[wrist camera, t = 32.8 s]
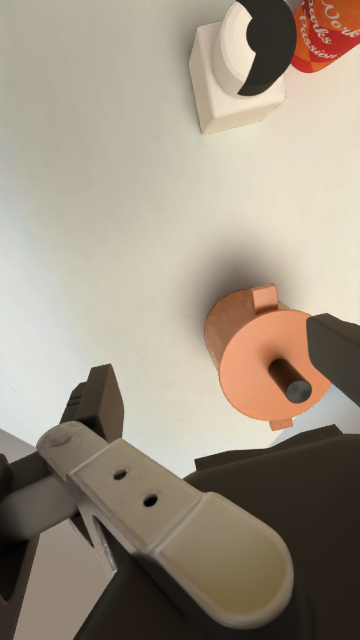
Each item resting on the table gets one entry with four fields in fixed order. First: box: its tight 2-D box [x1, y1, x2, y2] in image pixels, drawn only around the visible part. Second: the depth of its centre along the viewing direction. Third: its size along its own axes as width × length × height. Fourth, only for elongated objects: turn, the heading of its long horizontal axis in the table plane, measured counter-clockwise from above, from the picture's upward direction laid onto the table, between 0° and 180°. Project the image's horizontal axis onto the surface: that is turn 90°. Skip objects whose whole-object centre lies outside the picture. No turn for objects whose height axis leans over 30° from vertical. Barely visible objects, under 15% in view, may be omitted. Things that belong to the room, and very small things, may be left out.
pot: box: [204, 283, 293, 431], centre depth 39 cm, size 11×17×12 cm
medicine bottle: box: [189, 0, 297, 135], centre depth 30 cm, size 7×7×12 cm
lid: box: [218, 309, 331, 421], centre depth 31 cm, size 12×12×6 cm
